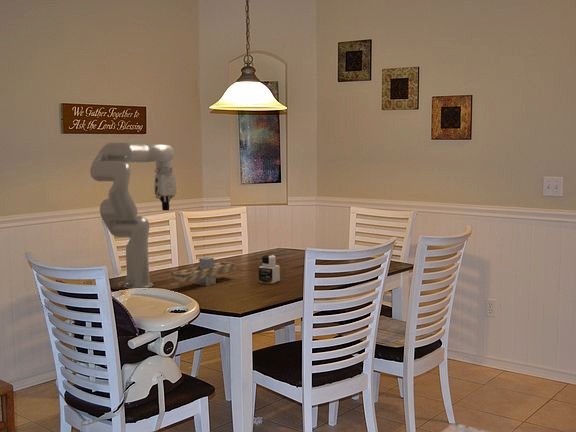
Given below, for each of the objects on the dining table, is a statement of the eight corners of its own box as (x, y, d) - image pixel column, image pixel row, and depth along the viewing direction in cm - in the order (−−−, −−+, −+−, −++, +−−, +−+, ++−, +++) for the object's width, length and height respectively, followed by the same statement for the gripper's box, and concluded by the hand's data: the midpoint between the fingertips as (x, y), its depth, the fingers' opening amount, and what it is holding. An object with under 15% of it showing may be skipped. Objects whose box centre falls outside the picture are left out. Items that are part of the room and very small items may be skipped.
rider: (206, 270, 316) (206, 259, 315) (199, 269, 318) (199, 258, 318) (213, 269, 319) (213, 258, 318) (206, 267, 322) (206, 257, 321)
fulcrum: (206, 286, 313) (206, 277, 313) (193, 283, 318) (193, 275, 318) (216, 283, 318) (215, 274, 317) (203, 281, 323) (203, 272, 323)
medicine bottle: (258, 282, 319) (258, 256, 318) (266, 279, 325) (265, 253, 324) (272, 283, 316) (272, 257, 314) (280, 280, 322) (279, 254, 320)
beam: (183, 282, 303) (183, 274, 303) (171, 280, 308) (171, 272, 308) (235, 270, 328) (235, 262, 327) (223, 268, 333) (223, 260, 332)
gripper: (157, 172, 326) (158, 212, 328) (181, 170, 337) (183, 209, 339) (146, 172, 330) (148, 211, 332) (171, 170, 342) (172, 208, 344)
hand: (165, 210), depth 336 cm, fingers closed
